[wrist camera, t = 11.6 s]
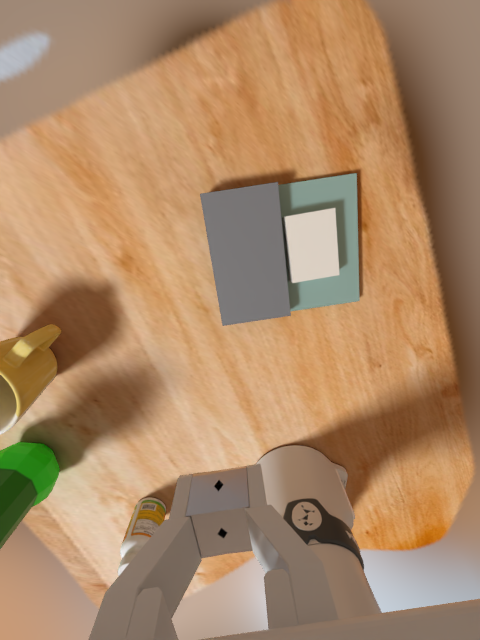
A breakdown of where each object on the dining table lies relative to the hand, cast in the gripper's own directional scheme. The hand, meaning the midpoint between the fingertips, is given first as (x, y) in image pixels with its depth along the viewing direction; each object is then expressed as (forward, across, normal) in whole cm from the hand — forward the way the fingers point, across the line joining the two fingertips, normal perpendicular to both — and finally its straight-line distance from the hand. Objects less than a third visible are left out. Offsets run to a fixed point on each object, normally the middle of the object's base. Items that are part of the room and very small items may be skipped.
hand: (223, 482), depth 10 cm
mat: (+29, -13, -6) cm, 32 cm away
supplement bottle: (+29, +19, +34) cm, 49 cm away
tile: (+28, -12, -6) cm, 31 cm away
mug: (+29, +27, +3) cm, 40 cm away
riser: (+29, -4, -6) cm, 30 cm away
